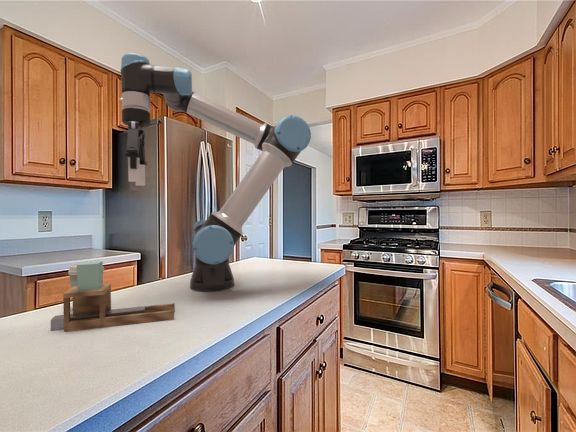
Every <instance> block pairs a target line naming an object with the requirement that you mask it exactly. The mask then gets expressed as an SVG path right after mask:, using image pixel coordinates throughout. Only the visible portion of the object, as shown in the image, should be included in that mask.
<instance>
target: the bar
mask: <svg viewBox="0 0 576 432" xmlns="http://www.w3.org/2000/svg"><path fill="white" fill-rule="evenodd" d="M140 313H146V310H145V305H144V306H135V307H123V309H121V308H114V309H113V310H106V317H111V316H121V315H131V314H140ZM70 316H71V321H73V320H82V319H92V318H100V311H95V312H85V313H76V314H73V313H70ZM60 330H61V331H62V330H63V331H64V314H59V315H55V316H53V317H52V318H51V319H50V331H51V332H53V331H54V332H55V331H60Z"/></svg>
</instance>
